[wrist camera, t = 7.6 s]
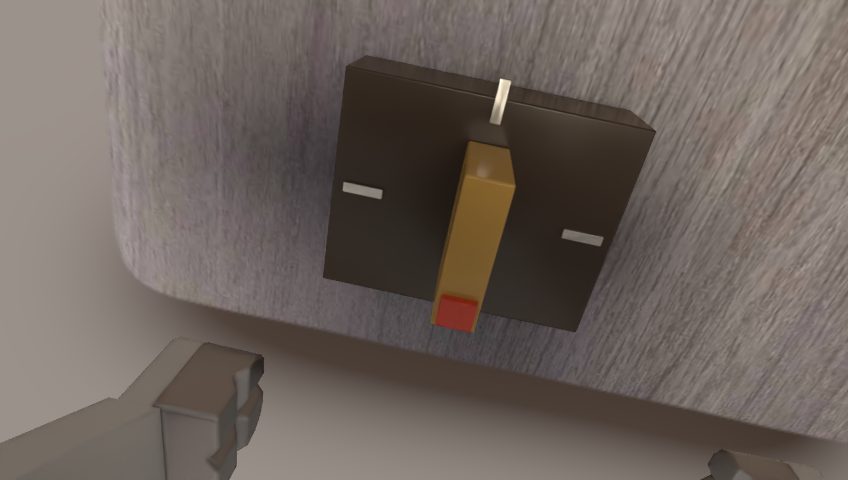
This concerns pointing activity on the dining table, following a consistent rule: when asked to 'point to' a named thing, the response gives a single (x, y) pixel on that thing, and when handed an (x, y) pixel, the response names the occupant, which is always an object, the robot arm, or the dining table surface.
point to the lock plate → (439, 177)
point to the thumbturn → (473, 236)
